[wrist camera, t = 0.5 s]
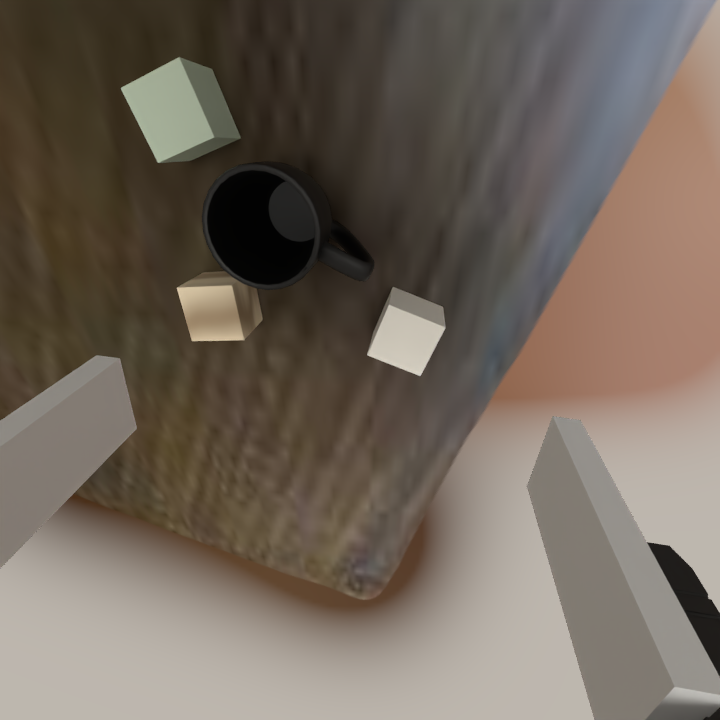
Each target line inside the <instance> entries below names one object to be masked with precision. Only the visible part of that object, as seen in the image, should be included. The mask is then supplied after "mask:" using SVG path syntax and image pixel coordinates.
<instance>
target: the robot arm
mask: <svg viewBox="0 0 720 720" xmlns="http://www.w3.org/2000/svg"><path fill="white" fill-rule="evenodd" d="M136 429H137V427H136V423H135V419H134V415H133V411H132V407H131V403H130V399H129V395H128V390H127V386H126V382H125V378H124V374H123V370H122V366H121V362H120V358H113V357H105V356H98V355H96V356H95V357H94V358H92V359H91V360H89V361H88V362H86V363H85V364H83V365H82V366H80V367H79V368H77V369H76V370H74V371H73V372H71V373H70V374H69V375H67V376H66V377H64V378H63V379H61V380H60V381H58V382H57V383H55V384H54V385H52V386H51V387H49V388H48V389H46V390H45V391H44V392H42V393H41V394H39V395H38V396H36V397H35V398H33V399H32V400H30V401H29V402H27V403H26V404H24V405H23V406H21V407H20V408H18V409H17V410H16V411H14V412H13V413H11V414H10V415H8V416H7V417H5V418H4V419H2V420H1V421H0V568H1V567H2V566H3V565H4V564H5V563H6V562H7V561H8V560H9V559H10V558H11V557H12V556H13V555H14V554H15V553H16V552H17V551H18V550H19V549H20V548H21V547H22V546H23V545H24V544H25V542H27V541H28V540H29V539H30V538H31V537H32V535H33V534H34V533H35V532H36V531H37V530H38V529H39V528H40V527H41V526H42V525H43V524H44V523H45V522H46V521H47V520H48V519H49V518H50V517H51V516H52V515H53V514H54V513H55V512H56V511H57V510H58V509H59V508H60V507H61V505H63V504H64V503H65V502H66V500H68V499H69V497H70V496H71V495H72V494H73V493H74V492H75V491H76V490H77V489H78V488H79V487H80V486H81V485H82V484H83V483H84V482H85V481H86V480H87V479H88V478H89V477H90V476H91V475H92V474H93V473H94V472H95V471H96V470H97V469H98V468H99V467H100V466H101V465H102V464H103V463H104V462H105V460H106V459H107V458H108V457H109V456H110V455H111V454H112V453H113V452H114V451H115V450H116V449H117V448H118V447H119V446H120V445H121V444H122V443H123V442H124V441H125V440H126V439H127V438H128V437H129V436H130V435H131V434H132V433H133V432H134V431H135V430H136ZM527 488H528V491H529V495H530V498H531V501H532V505H533V509H534V512H535V515H536V519H537V523H538V526H539V529H540V533H541V536H542V540H543V543H544V547H545V550H546V554H547V557H548V560H549V564H550V567H551V571H552V574H553V578H554V581H555V585H556V588H557V592H558V595H559V599H560V602H561V605H562V609H563V612H564V616H565V619H566V623H567V626H568V629H569V633H570V637H571V639H572V643H573V647H574V650H575V654H576V657H577V661H578V664H579V668H580V671H581V675H582V678H583V681H584V685H585V688H586V692H587V695H588V699H589V702H590V706H591V709H592V713H593V716H594V719H595V720H720V613H719V612H718V610H717V608H716V607H715V605H714V603H713V602H712V600H710V599H708V594H707V592H706V590H705V589H704V587H703V585H702V584H701V582H700V581H699V579H698V577H697V576H696V574H695V572H694V571H693V569H692V568H691V567H690V566H689V565H688V564H687V563H686V562H685V561H684V560H683V559H682V558H681V557H680V556H679V555H678V554H677V553H676V552H675V551H674V550H673V549H672V548H671V547H670V546H667V545H661V544H654V543H648V542H646V540H645V538H644V536H643V535H642V533H641V531H640V529H639V527H638V525H637V523H636V522H635V520H634V518H633V516H632V514H631V512H630V511H629V509H628V507H627V505H626V503H625V501H624V499H623V498H622V496H621V494H620V492H619V490H618V488H617V487H616V485H615V483H614V481H613V479H612V477H611V475H610V474H609V472H608V470H607V468H606V466H605V464H604V463H603V461H602V459H601V457H600V455H599V453H598V452H597V450H596V448H595V446H594V444H593V442H592V440H591V439H590V437H589V435H588V433H587V431H586V429H585V427H584V426H583V424H582V422H581V420H576V419H569V418H561V417H554V416H553V417H552V420H551V423H550V425H549V428H548V431H547V433H546V436H545V439H544V441H543V444H542V447H541V450H540V452H539V455H538V458H537V461H536V464H535V466H534V469H533V471H532V474H531V477H530V480H529V482H528V485H527Z"/></svg>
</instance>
